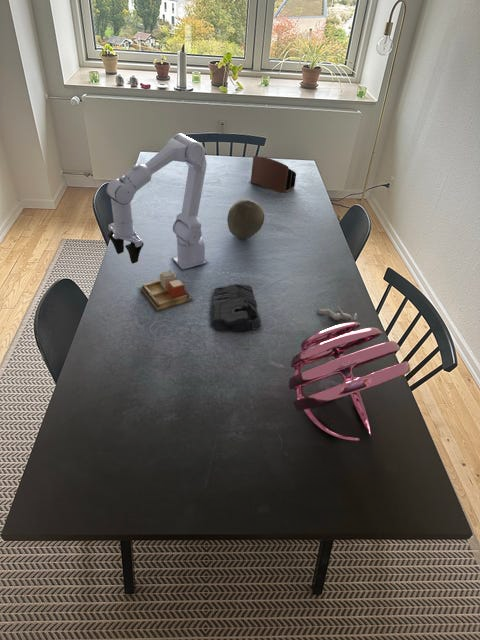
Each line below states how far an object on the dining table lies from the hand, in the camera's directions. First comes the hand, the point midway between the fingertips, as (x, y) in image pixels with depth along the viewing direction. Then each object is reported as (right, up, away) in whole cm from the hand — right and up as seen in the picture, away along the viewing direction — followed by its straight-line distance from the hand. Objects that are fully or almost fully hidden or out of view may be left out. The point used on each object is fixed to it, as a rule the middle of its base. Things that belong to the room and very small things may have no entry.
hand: (127, 257), depth 147 cm
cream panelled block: (+12, -10, +5) cm, 17 cm away
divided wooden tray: (+12, -12, +2) cm, 17 cm away
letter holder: (+52, +46, +77) cm, 104 cm away
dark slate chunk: (+35, -17, -1) cm, 39 cm away
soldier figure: (+67, -20, -2) cm, 70 cm away
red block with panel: (+16, -13, +1) cm, 20 cm away
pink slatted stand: (+61, -43, -31) cm, 81 cm away
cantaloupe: (+38, +13, +36) cm, 54 cm away
